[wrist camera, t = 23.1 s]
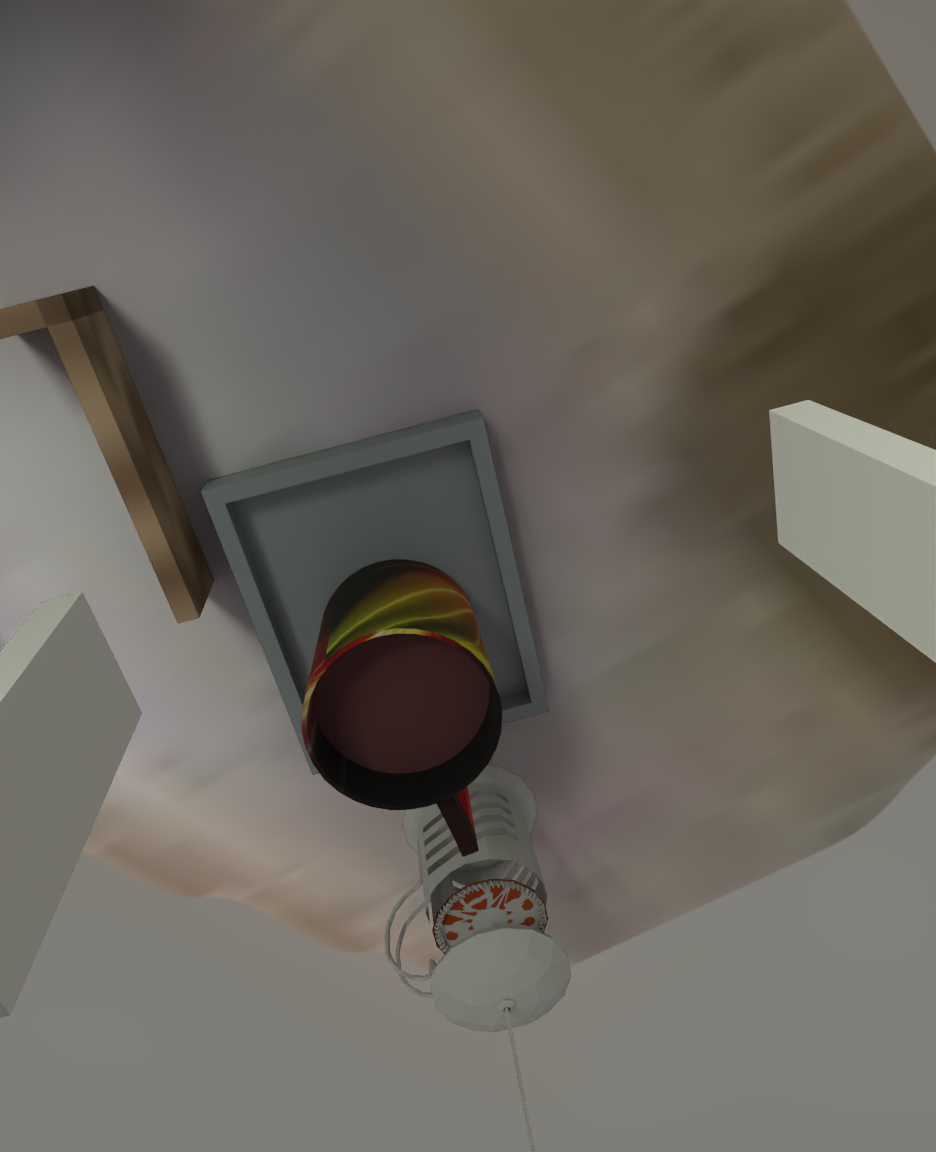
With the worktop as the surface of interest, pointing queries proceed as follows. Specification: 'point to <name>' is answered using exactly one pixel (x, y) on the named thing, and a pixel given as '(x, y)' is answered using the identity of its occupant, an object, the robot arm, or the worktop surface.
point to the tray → (376, 544)
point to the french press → (486, 914)
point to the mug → (402, 694)
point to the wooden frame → (122, 438)
